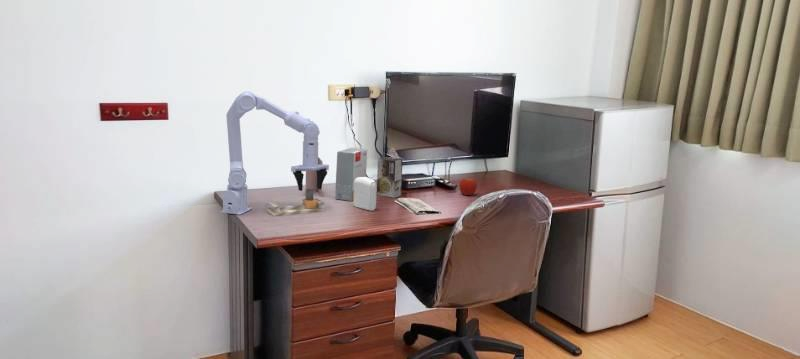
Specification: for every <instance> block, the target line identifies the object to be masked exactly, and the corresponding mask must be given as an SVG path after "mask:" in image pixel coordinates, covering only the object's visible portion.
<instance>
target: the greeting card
mask: <svg viewBox="0 0 800 359" xmlns="http://www.w3.org/2000/svg"><path fill="white" fill-rule="evenodd" d="M318 164H323V161H322V159H321V158H320V157H319V156H318ZM306 189H313V190H314V191H313V194H314V193H316V192H317V193H318V194H319V195H320V197H321V198H322V196H323V186H322V187H321V189H318V188H317V172H316V170H315V171H305V189H304V190H305V192H304V193H305V194H304V195H305V197H306Z"/></svg>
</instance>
